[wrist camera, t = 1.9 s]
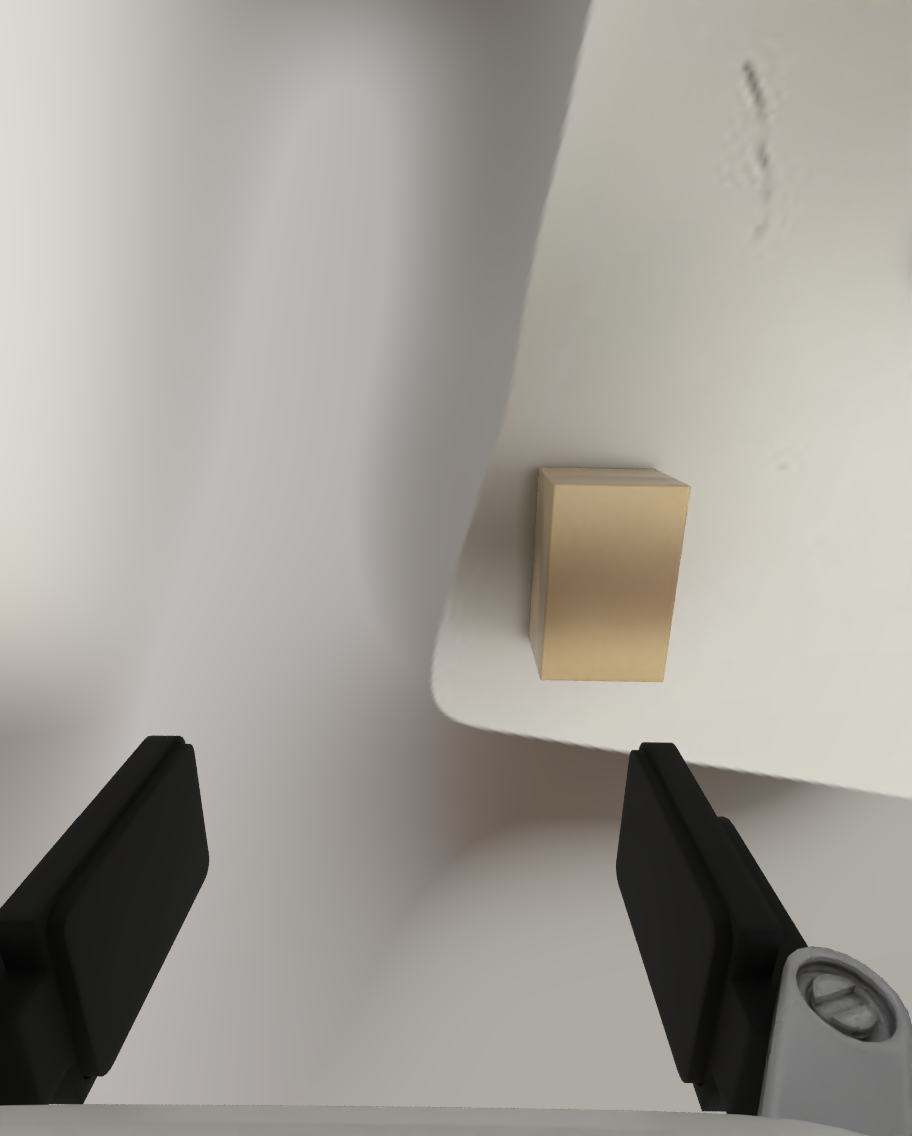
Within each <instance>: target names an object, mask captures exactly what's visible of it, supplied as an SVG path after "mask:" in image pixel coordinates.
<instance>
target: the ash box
mask: <svg viewBox="0 0 912 1136" xmlns="http://www.w3.org/2000/svg"><path fill="white" fill-rule="evenodd" d="M689 494H690V486H689V485H687V484H685V483H683V482H681V481H679V480H676V479H674V478H672V477H670V476H668V475H666V474H664V473H662V472H660V471H658V470H656V469H624V468H563V467H540V468H539V478H538V495H537V511H536V528H535V545H534V562H533V579H532V595H531V612H530V629H529V640H530V643H531V647H532V651H533V654H534V658H535V662H536V665H537V669H538V673H539V677H540V679H541V680H573V681H640V682H663V679H664V672H665V665H666V658H667V651H668V644H669V637H670V629H671V622H672V615H673V608H674V601H675V594H676V587H677V579H678V572H679V565H680V558H681V551H682V544H683V537H684V530H685V522H686V515H687V508H688V501H689Z"/></svg>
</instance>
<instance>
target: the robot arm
mask: <svg viewBox="0 0 912 1136" xmlns="http://www.w3.org/2000/svg"><path fill="white" fill-rule="evenodd" d="M208 866H209V852H208V845H207V839H206V832H205V824H204V817H203V810H202V803H201V796H200V789H199V782H198V775H197V767H196V760H195V753H194V749H193V746H192V745H191V744H185V741H184V739H183V737H181V736H148V737H147V738H146V739H145V740H144V741H143V742H142V743H141V744H140V745H139V747H138V748H137V749H136V750H135V751H134V752H133V754H132V755H131V756H130V757H129V758H128V759H127V761H126V762H125V763H124V764H123V766H122V767H121V768H120V769H119V770H118V771H117V772H116V774H115V775H114V776H113V777H112V779H111V780H110V781H109V782H108V783H107V784H106V785H105V786H104V788H103V789H102V790H101V791H100V792H99V794H98V795H97V796H96V797H95V798H94V800H93V801H92V802H91V803H90V804H89V805H88V806H87V808H86V809H85V810H84V811H83V813H82V814H81V815H80V816H79V817H78V818H77V819H76V820H75V821H74V822H73V824H72V825H71V826H70V827H69V828H68V829H67V831H66V832H65V833H64V834H63V835H62V837H61V838H60V839H59V840H58V841H57V842H56V844H55V845H54V846H53V847H52V848H51V850H50V851H49V852H48V853H47V854H46V855H45V856H44V858H43V859H42V860H41V861H40V862H39V864H38V865H37V866H36V867H35V868H34V869H33V871H32V872H31V873H30V874H29V875H28V876H27V878H26V879H25V880H24V881H23V882H22V883H21V885H20V886H19V887H18V888H17V889H16V891H15V892H14V893H13V894H12V895H11V896H10V898H9V899H8V900H7V901H6V903H5V904H4V905H3V906H2V907H1V908H0V1136H912V1024H911V1021H910V1017H909V1013H908V1011H907V1009H906V1007H905V1006H904V1004H903V1003H902V1001H901V999H900V997H899V996H898V994H897V993H896V992H895V991H894V990H893V989H892V988H891V987H890V986H889V985H888V984H887V982H886V981H885V980H884V979H883V978H882V977H880V976H879V975H878V974H877V973H875V972H874V971H873V970H871V969H870V968H869V967H868V966H866V965H865V964H863V963H861V962H859V961H857V960H856V959H854V958H852V957H850V956H848V955H847V954H844V953H841V952H838V951H835V950H832V949H829V948H821V947H812V946H811V947H808V946H807V944H806V942H805V941H804V939H803V938H802V936H801V934H800V933H799V931H798V929H797V928H796V926H795V924H794V923H793V921H792V920H791V918H790V916H789V915H788V913H787V911H786V910H785V908H784V907H783V905H782V903H781V902H780V900H779V898H778V897H777V895H776V894H775V892H774V890H773V889H772V887H771V885H770V884H769V882H768V881H767V879H766V877H765V876H764V874H763V872H762V871H761V869H760V867H759V866H758V864H757V863H756V861H755V859H754V858H753V856H752V854H751V853H750V851H749V850H748V848H747V846H746V845H745V843H744V841H743V840H742V838H741V836H740V835H739V833H738V832H737V830H736V829H735V827H734V825H733V824H732V823H731V822H730V820H729V819H727V818H725V817H717V815H716V814H715V812H714V810H713V809H712V807H711V805H710V803H709V802H708V800H707V798H706V797H705V795H704V793H703V792H702V790H701V788H700V786H699V785H698V783H697V781H696V780H695V778H694V776H693V775H692V773H691V771H690V770H689V768H688V766H687V764H686V763H685V761H684V759H683V758H682V756H681V754H680V753H679V751H678V749H677V747H676V746H675V745H674V744H673V743H649V742H643V743H642V744H641V745H640V747H639V750H632V751H631V753H630V757H629V765H628V772H627V781H626V788H625V796H624V804H623V812H622V821H621V829H620V836H619V844H618V852H617V861H616V873H617V880H618V884H619V887H620V891H621V894H622V897H623V900H624V903H625V906H626V909H627V912H628V916H629V919H630V922H631V925H632V928H633V931H634V935H635V938H636V941H637V944H638V947H639V951H640V953H641V957H642V960H643V963H644V966H645V969H646V972H647V975H648V979H649V982H650V985H651V988H652V992H653V995H654V998H655V1001H656V1004H657V1007H658V1010H659V1014H660V1017H661V1020H662V1023H663V1026H664V1029H665V1032H666V1036H667V1039H668V1041H669V1045H670V1048H671V1051H672V1055H673V1057H674V1061H675V1064H676V1067H677V1070H678V1073H679V1075H680V1077H681V1079H682V1081H683V1082H684V1083H693V1085H694V1088H695V1091H696V1094H697V1097H698V1100H699V1103H700V1106H701V1109H702V1111H726V1113H727V1114H711V1113H710V1114H709V1113H684V1112H658V1111H657V1112H656V1111H630V1110H628V1111H627V1110H573V1109H518V1108H517V1109H516V1108H462V1107H460V1108H459V1107H455V1108H454V1107H377V1106H375V1107H373V1106H283V1105H280V1106H279V1105H105V1104H104V1105H103V1104H102V1105H101V1104H100V1105H99V1104H96V1105H95V1104H90V1105H89V1104H83V1103H84V1101H85V1099H86V1097H87V1095H88V1093H89V1091H90V1089H91V1088H92V1086H93V1083H94V1081H95V1080H96V1078H97V1076H104V1075H106V1074H107V1073H108V1071H109V1070H110V1069H111V1067H112V1065H113V1064H114V1061H115V1060H116V1058H117V1056H118V1053H119V1051H120V1049H121V1047H122V1045H123V1043H124V1041H125V1039H126V1037H127V1035H128V1033H129V1031H130V1029H131V1027H132V1025H133V1023H134V1021H135V1019H136V1017H137V1015H138V1013H139V1011H140V1009H141V1007H142V1005H143V1003H144V1001H145V999H146V997H147V995H148V993H149V991H150V989H151V987H152V985H153V983H154V981H155V979H156V977H157V975H158V973H159V971H160V969H161V967H162V965H163V963H164V961H165V958H166V956H167V955H168V953H169V951H170V949H171V947H172V945H173V943H174V941H175V939H176V937H177V935H178V932H179V931H180V929H181V927H182V924H183V922H184V921H185V918H186V916H187V914H188V912H189V910H190V908H191V906H192V904H193V902H194V900H195V898H196V896H197V894H198V892H199V890H200V888H201V886H202V884H203V882H204V880H205V878H206V875H207V871H208ZM49 1104H70V1105H49Z"/></svg>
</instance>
